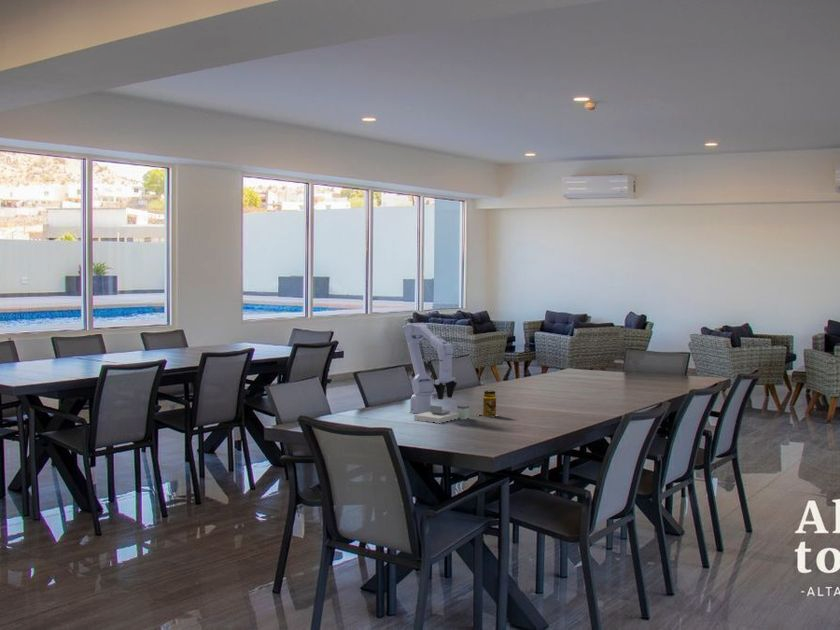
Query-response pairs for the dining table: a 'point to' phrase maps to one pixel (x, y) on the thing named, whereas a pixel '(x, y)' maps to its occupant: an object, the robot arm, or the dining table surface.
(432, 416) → the socket
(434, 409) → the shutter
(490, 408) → the yellow metal cylinder
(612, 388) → the dining table surface
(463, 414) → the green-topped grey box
